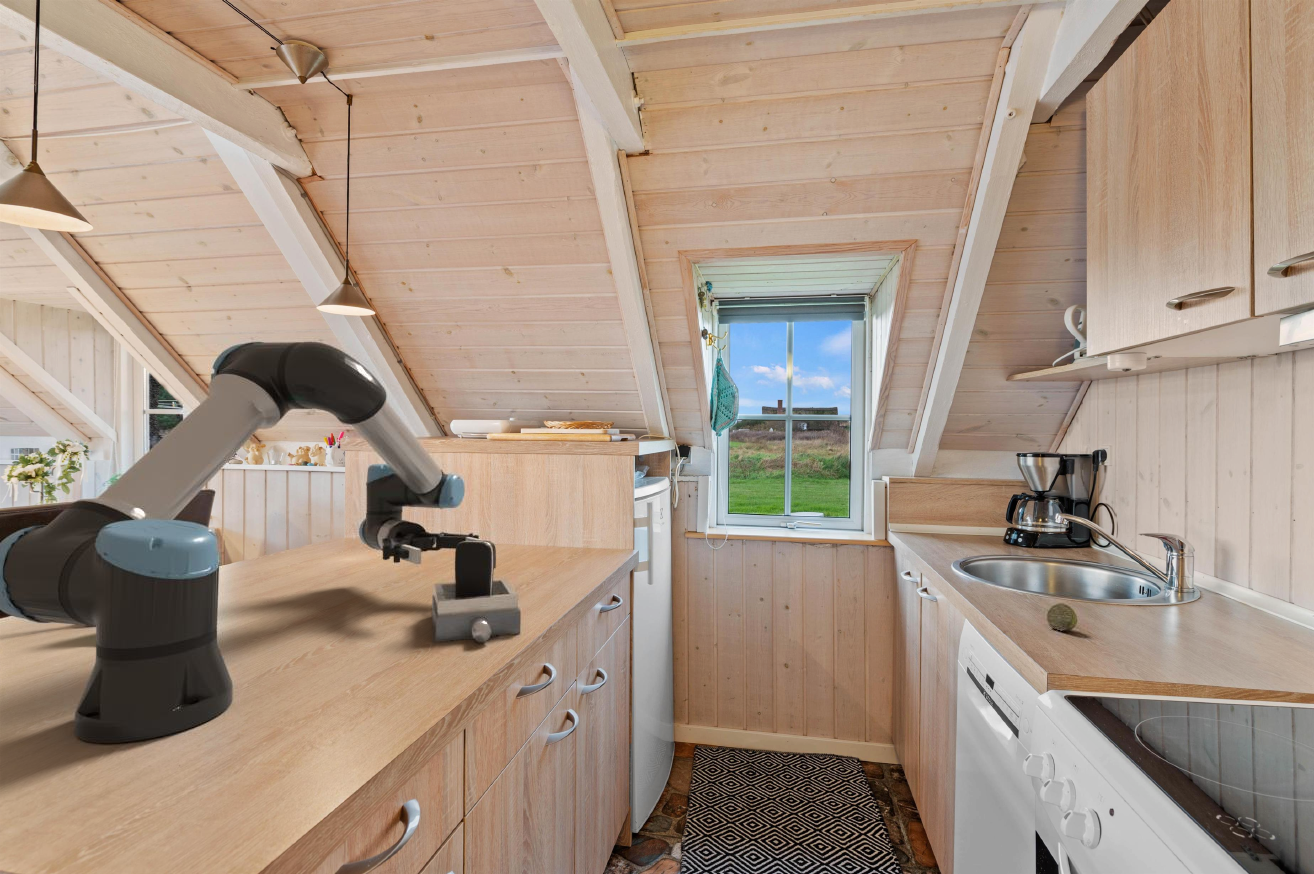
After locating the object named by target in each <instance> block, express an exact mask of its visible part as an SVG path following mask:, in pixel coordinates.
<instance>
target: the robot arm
mask: <svg viewBox="0 0 1314 874" xmlns="http://www.w3.org/2000/svg"><path fill="white" fill-rule="evenodd" d="M212 369H213V370H214V371H213V373H211V374H210V381H209V383H208V391H209V395H208V396H207V397H206V399H204V400H203V401H201V403H200V404H199V405H198V406H196V407H195V408H194V410H192V411H191V412H190V413H189V414H188V415H186V417H185V418H184V419H182V420H181V421H180V422H179V423H178V424H176V426H175V427H174V428H172V429H171V430H170V431H169V432H168V433H167V434H166V435H165V436H163V438H162V439H160V440H159V441H158V442H157V443H156V444H155V445H153V447H151V449H149V450H148V451H147V452H146V453H145V454H144V455H143V456H142V457H141V458H140V459H138V461H136V462H135V463H134V464H133V465H132V466H131V467H130V468H129V469H127V470H126V471H125V472H124V473H123V474H122V475H121V476H120V477H118V478H117V480H115V481H114V483H112V484H111V485H110V486H109V487H108V488H106V490H104V491H103V492H102V494H100V495H99V496H98V497H97V498H96V497H95V498H83V499H77V500H75V501H74V502H72V503H70V505H69V506H67V508H65V509H64V510H63V511H62V512H60V513H59V514H58V515H57V516H56V517H55V518H54V519H53V520H51V521H50V523H48V524H47V525H45V524H42V525H33V526H29V527H26V528H23V529H20V530H17V531H16V532H12V533H11V534H10V535H8V536H7V537H5V538H4V539H3V540H2V541H1V542H0V611H2V612H3V613H5V614H7V615H9V616H12V617H15V618H16V619H17V618H18V619H23V620H24V619H25V620H27V621H29V622H33V623H38V624H51V623H54V624H55V623H56V624H64V625H65V624H68V625H78V626H79V625H80V626H85V625H89V626H88V627H96V631H95V632H96V633H95V634H96V635H95V648H96V649H95V664H94V666H93V668H92V671H91V673H90V675H89V678H88V680H87V683H86V685H85V687H84V690H83V692H82V695H81V698H80V699H79V703H78V705H77V708H76V709H75V714H74V735H75V737H76V738H77V739H79V740H81V741H85V742H89V743H94V744H95V743H96V744H120V743H130V742H137V741H143V740H150V739H154V738H159V737H163V736H168V735H170V734H175V733H178V732H182V731H184V730H187V729H190V728H192V727H196V726H198V725H200V724H203V723H205V722H207V721H210V720H212V719H213V718H216V717H218V716H219V715H220V714H223V713H224V712H225V711H226V710H227V709H228V708H229V707H230V706H231V704H232V703H233V700H234V699H233V697H234V696H233V694H234V693H233V692H234V691H233V687H234V685H233V680H232V677H231V676H230V673H229V670H228V668H227V665H226V663H225V660H224V657H223V655H222V653H221V650H220V648H219V645H218V644H219V643H218V613H219V612H218V608H219V607H218V603H219V583H220V581H219V580H220V578H219V577H220V563H221V562H220V560H221V559H220V558H221V557H220V555H219V550H218V549H219V548H218V547H219V546H218V539H217V538H218V537H217V535H216V533H215V532H214V531H213V530H212V529H211V528H210V527H208V526H207V525H204V524H200V523H197V522H192V521H187V520H186V521H185V520H178V519H175V518H176V517H177V516H178V515H179V514H180V513H181V512H182V511H183V510H184V509H185V507H186V506H188V504H189V503H190V502H191V501H192V500H193V499H194V498H195V497H196V496H197V495H198V494H199V493H200V492H201V491H202V490H203V488H204V487H206V485H207V484H208V483H209V482H210V481H211V480H212V479H213V478H214V477H215V476H216V475H217V474H218V472H219V471H220V470H221V469H222V468H223V467H224V466H225V465H226V464H227V463H228V462H229V461H230V460H231V459H232V458H233V456H235V454H236V453H237V452H238V451H240V449H241V448H242V447H243V446H244V445H245V444H246V443H247V442H248V440H250V438H251V437H252V436H253V435H254V434H255V433H256V432H257V431H258V430H268V429H271V428H273V427H275V426H276V425H277V424H278V423H279V422H280V421H281V420H282V419H283V418H284V417H285V416H286V414H287V413H288V412H289V411H291V410H319V411H324V412H328V413H330V414H332V415H333V416H334V417H335V418H336V419H337V420H338V421H339V422H340V423H341V424H344V425H346V426H352V427H353V428H354V429H355V431H356V432H358V434H359V435H360V436H361V437H362V438H363V439H364V440H365V441H366V443H368V445H369V446H370V447H371V448H372V450H374V452H376V454H377V455H378V456H379V457H380V458H381V459H382V461H384V462H385V463H376V464H375V463H374V464H371V465H369V466H368V468H367V477H366V483H365V486H366V509H365V510H366V513H365V518H364V519H363V521H361V524H360V526H359V528H358V535H359V538H360V540H361V542H362V543H363V544H365V545H366V546H368V547H369V548H372V549H373V550H376V551H382V560H384V561H388V560H390V558H391V557H393V563H394V564H399V563H401V560H402V561H407V562H409V563H412V564H415V565H421V564H422V554H423V552H428V551H429V552H430V551H436V552H437V551H439V550H442V549H450V550H456V547H457V545H458V544H459V543H460V542H463V541H467V540H481V539H479V538H480V536H479V535H478V534H474V533H473V532H470V533H468V534H462V533H461V534H460V533H448V532H443V531H441V532H439V533H437V532H433V533H432V532H431V533H430V532H429V531H426V530H427V529H425V527H424V526H423V525H421V524H419V523H417V522H413V521H409V520H404V519H403V507H406V508H408V507H409V508H425V509H426V508H427V509H440V510H443V509H455V508H458V507H459V506H460V505H461V504H462V503H463V499H464V497H465V492H466V489H465V482H464V480H463V478H462V477H461V476H459V475H458V474H452V473H448V474H447V473H445V472H444V471H443V470H442V469H441V467H440V466H439V465H438V463H436V461H435V460H434V459H433V457H432V456H431V455H430V453H429V452H428V450H426V449H425V447H424V446H423V445H422V444H421V442H420V441H419V440H418V438H417V437H416V436H415V435H414V434H413V432H412V431H411V429H410V428H409V427H408V426H407V424H406V423H405V422H404V421H403V419H402V418H401V417H400V416H399V414H398V413H397V411H396V410H395V409H394V408H393V407H392V406H391V404H390V403H389V402H388V393H387V390H386V389H385V387H384V386H383V385H382V384H381V381H379V380H378V379H377V378H376V377H375V375H374V374H373V373H372V372H371V371H369V369H367V368H366V367H365V366H364V365H363V364H361V363H360V362H359V361H358V360H356V359H355V358H353V356H351V355H349V354H348V353H346V352H344V351H342V350H340V349H339V348H337V347H334V346H332V345H330V344H326V343H323V342H317V341H299V342H298V341H297V342H296V341H295V342H294V341H293V342H292V341H291V342H290V341H289V342H284V341H283V342H281V341H280V342H279V341H278V342H274V341H273V342H266V341H265V342H264V341H251V342H245V343H239V344H234V345H232V346H229V347H228V348H227V349H224V350H223V351H222V352H221V353H220V354H219V355H218V356H217V357H216V359H215V361H214V362H213V365H212ZM482 540H483V541H485V540H484V539H482Z"/></svg>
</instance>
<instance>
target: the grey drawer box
mask: <svg viewBox="0 0 1314 874" xmlns="http://www.w3.org/2000/svg"><path fill="white" fill-rule="evenodd" d="M433 587H434V591H433V593H434V594H433V595H432V596H431V598H432V599H431V619H433V620H432V626H433V632H434V638H435V643H444V642H452V641H451V640H454V641H462V640H461V639H464V640H471V638H473V640H474V641H476V642H477V643H484V642H485V643H486V641H488V640H489V639H490V638H491V637H490V636H493V637H496V636H495V635H502V636H506V635H505V634H512V635H519V634H518V633H520V634H521V618H522V617H521V615H522V613H521V612H522V610H521V608H519V603H518V601H519V595H518V593H517V592H516V590H515V589H514V587H513V586H512V585H511V583H510V581H508V579H507V578H499V579H498V578H497V579H493V595H491V596H479V597H466V598H455V581H454V582H442V583H440V582H439V583H434V586H433Z"/></svg>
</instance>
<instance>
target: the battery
mask: <svg viewBox="0 0 1314 874" xmlns="http://www.w3.org/2000/svg"><path fill="white" fill-rule="evenodd" d="M483 540H484V539H480V540H467V541H463V542H460V543H459V544H458V545H457V547H456V549H455V553H454V555H455V556H454V582H455V598H466V597H479V596H491V595H493V580H494V570H495V569H496V568H497V551H496V550H497V549H496V546H495V544H494V543H493V542H492V541H490V540H484V541H483Z"/></svg>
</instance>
